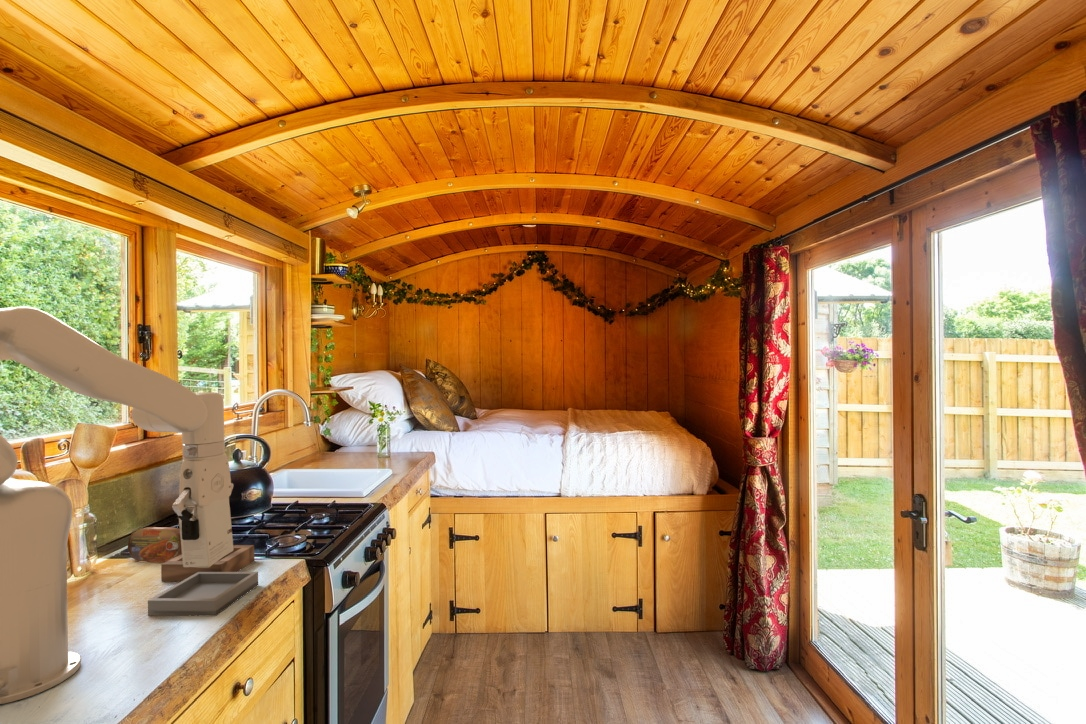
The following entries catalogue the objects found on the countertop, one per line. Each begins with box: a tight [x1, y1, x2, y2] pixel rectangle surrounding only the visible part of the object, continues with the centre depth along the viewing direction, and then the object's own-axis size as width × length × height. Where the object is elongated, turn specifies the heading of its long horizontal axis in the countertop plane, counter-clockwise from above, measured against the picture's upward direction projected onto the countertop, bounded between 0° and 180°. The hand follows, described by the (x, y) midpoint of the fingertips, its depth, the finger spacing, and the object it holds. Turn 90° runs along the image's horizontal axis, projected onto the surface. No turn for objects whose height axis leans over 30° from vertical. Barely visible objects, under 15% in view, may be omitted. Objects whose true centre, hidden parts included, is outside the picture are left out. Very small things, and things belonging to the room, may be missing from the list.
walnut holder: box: [160, 544, 255, 582], centre depth 124 cm, size 12×14×4 cm
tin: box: [127, 526, 182, 563], centre depth 132 cm, size 15×3×8 cm, turn 82°
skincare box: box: [178, 492, 234, 568], centre depth 109 cm, size 8×6×15 cm
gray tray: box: [147, 571, 259, 617], centre depth 109 cm, size 14×14×3 cm
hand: (206, 531), depth 109 cm, fingers closed on skincare box, 8 cm apart
